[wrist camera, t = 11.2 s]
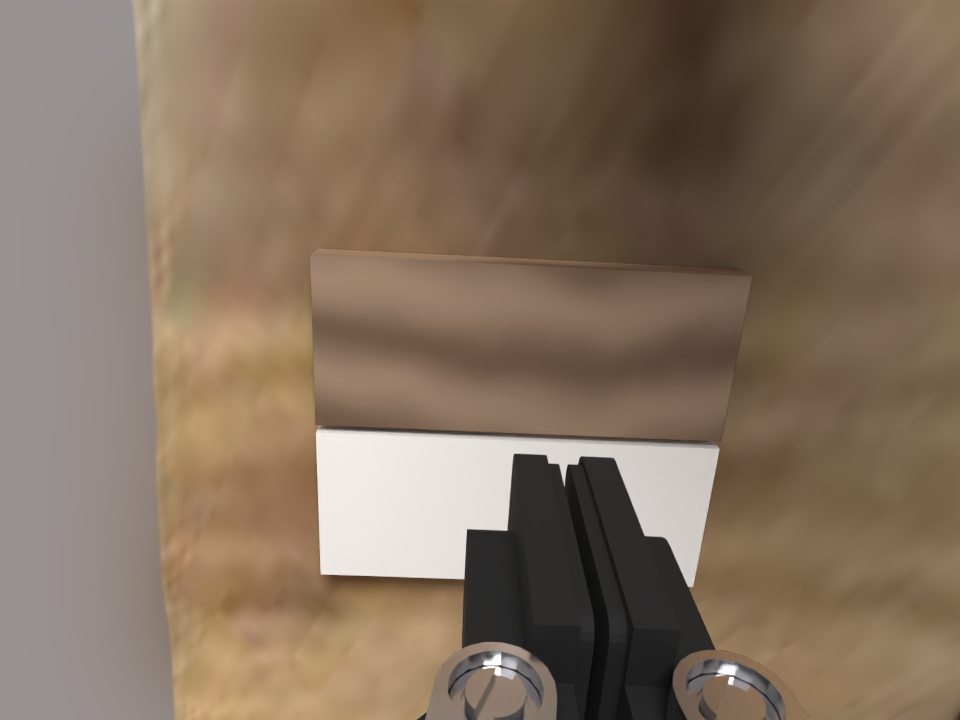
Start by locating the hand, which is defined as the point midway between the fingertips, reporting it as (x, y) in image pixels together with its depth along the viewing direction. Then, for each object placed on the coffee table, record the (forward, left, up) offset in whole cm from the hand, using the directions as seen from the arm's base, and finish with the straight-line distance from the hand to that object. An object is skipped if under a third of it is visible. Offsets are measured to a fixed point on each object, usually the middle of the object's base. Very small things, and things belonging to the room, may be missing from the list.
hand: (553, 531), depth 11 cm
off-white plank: (+16, +2, -28) cm, 33 cm away
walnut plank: (+6, +2, -28) cm, 29 cm away
